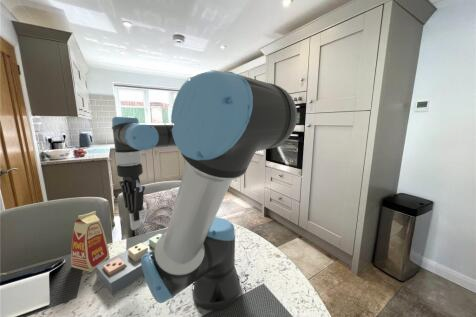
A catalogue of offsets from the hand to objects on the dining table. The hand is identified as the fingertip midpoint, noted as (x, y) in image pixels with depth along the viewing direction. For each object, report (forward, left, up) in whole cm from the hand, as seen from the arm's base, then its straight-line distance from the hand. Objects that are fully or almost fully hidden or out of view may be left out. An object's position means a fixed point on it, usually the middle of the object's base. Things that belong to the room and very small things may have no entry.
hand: (135, 227), depth 69 cm
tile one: (0, -8, -11) cm, 14 cm away
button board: (0, 0, -15) cm, 15 cm away
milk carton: (+17, +9, -16) cm, 25 cm away
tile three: (0, +8, -13) cm, 15 cm away
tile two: (0, 0, -11) cm, 11 cm away
